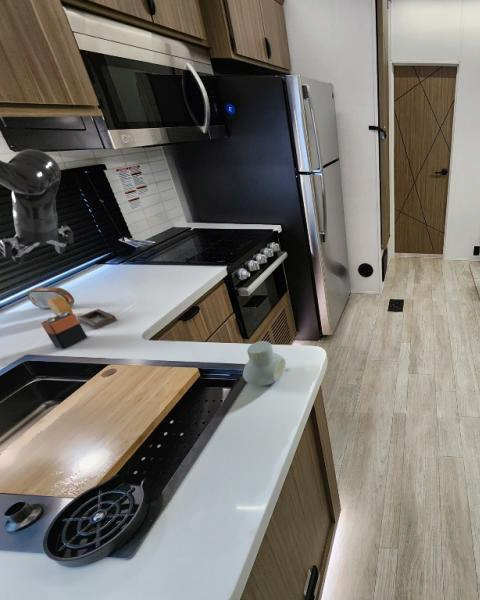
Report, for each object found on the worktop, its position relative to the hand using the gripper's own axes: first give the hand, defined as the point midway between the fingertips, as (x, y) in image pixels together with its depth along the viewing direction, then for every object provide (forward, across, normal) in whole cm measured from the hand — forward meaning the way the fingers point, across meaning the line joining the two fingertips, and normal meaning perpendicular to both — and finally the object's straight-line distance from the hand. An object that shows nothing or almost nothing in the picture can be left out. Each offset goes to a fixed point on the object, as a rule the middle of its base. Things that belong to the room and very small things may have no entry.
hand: (39, 256), depth 93 cm
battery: (+22, +3, +19) cm, 29 cm away
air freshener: (-27, -12, +68) cm, 74 cm away
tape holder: (+28, -8, +13) cm, 32 cm away
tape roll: (+36, -4, +4) cm, 36 cm away
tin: (+47, -6, -6) cm, 48 cm away
